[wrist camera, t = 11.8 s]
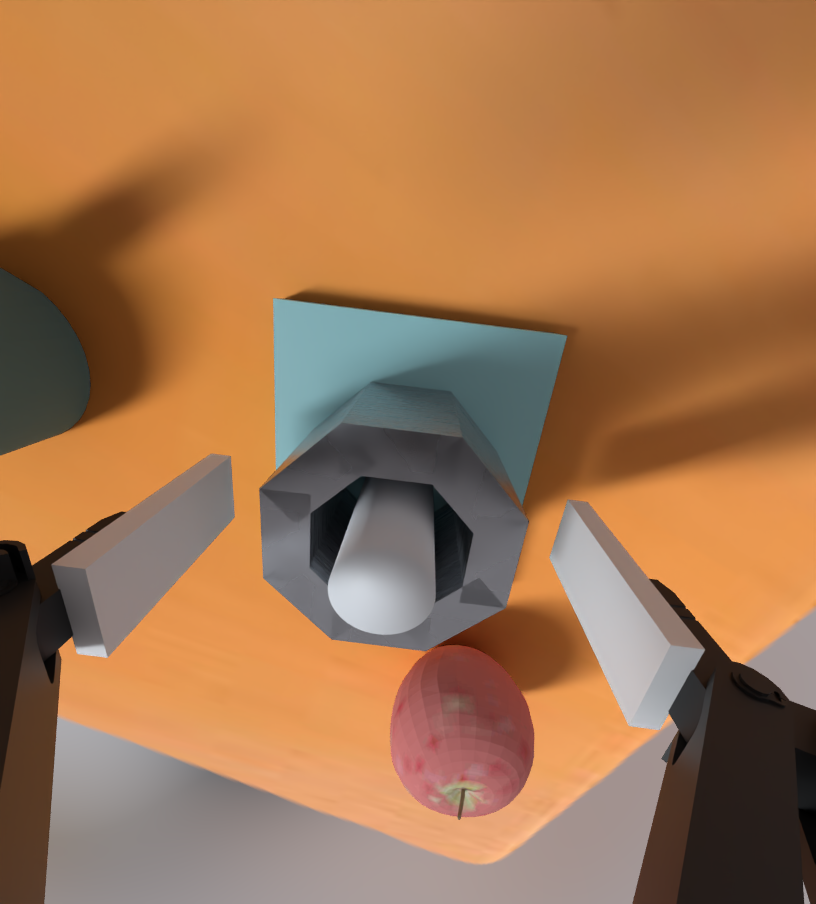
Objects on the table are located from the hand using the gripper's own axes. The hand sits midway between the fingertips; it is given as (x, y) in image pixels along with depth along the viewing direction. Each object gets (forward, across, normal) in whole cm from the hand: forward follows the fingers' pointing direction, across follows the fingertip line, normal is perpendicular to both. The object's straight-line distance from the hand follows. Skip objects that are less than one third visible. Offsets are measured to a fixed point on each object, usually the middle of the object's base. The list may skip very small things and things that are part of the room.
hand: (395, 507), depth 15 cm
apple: (+5, +5, -13) cm, 15 cm away
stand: (+4, 0, 0) cm, 4 cm away
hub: (+3, 0, 0) cm, 3 cm away
